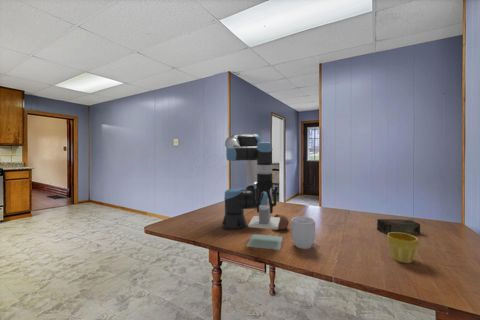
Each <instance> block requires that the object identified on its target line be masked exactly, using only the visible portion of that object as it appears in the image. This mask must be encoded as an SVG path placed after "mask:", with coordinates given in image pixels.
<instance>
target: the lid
mask: <svg viewBox="0 0 480 320" xmlns="http://www.w3.org/2000/svg"><path fill="white" fill-rule="evenodd" d="M269 206H270V205H269V204H267V205H262V206H261V208H260V209H259V213H258V215H253V217H252V218H251V220H250V222H249V223H247V227H248V228H256V229H267V230H278V226H279V222H280V218H278V217H274V216H271V219H270V220H268V207H269ZM278 231H279V230H278Z"/></svg>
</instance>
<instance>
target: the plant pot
mask: <svg viewBox="0 0 480 320" xmlns="http://www.w3.org/2000/svg"><path fill="white" fill-rule="evenodd" d="M386 235H387V243H388V244H389V248H390V251H391V255H392V259H394V261H396V262H399V263H403V264H411V263H412V262H413V261H414V256H415V253H416V250H417V249H418V247H419V239H418V237H416V236H415V235H414V234H406V233H400V232H391V233H388V234H386Z"/></svg>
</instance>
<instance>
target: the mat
mask: <svg viewBox="0 0 480 320" xmlns="http://www.w3.org/2000/svg"><path fill="white" fill-rule="evenodd" d="M282 242H283V236H279V235H268V234H259V233H258V234H257V233H256V234H255V233H253V234H252V235H251V236H250V239H249V240H248V242H247V243H246V247H247V248H258V249H266V250H267V249H269V250H276V251H278V250H279V251H281V246H282Z"/></svg>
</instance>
